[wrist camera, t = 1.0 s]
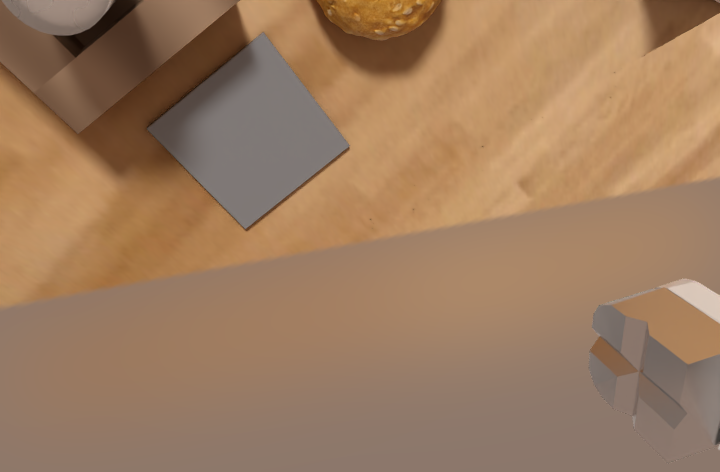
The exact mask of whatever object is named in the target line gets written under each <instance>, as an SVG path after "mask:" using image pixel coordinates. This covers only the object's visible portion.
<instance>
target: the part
mask: <svg viewBox="0 0 720 472" xmlns="http://www.w3.org/2000/svg"><path fill="white" fill-rule="evenodd" d="M2 1H3V3H4V4H5V6H6V7H7V8H8V9H9V10H10V11H11V13H12V14H13V15H15V16H16V17H17V18H18V19H19V20H20V21H22V22H23V23H25V24H26V25H28V26H30V27H31V28H33V29H36V30H38V31H40V32H44V33H47V34H52V35H61V36H65V35H73V34H78V33H81V32H83V31H85V30H87V29H89V28H91V27H92V26H93V25H95V24H96V23H97V22H98V21H99V20H100V19H101V18H102V16H103V15H104V14H105V13H106V12H107V11H108V10H109V8H110V7H111V6H112V5H113V4H114V3H115V2H116V0H2Z"/></svg>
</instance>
